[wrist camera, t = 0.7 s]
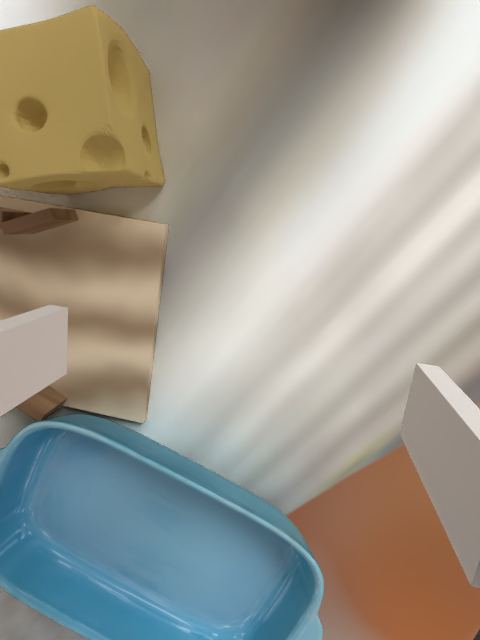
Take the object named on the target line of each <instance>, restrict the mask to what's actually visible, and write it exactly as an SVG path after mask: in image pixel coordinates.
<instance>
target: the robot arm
mask: <svg viewBox="0 0 480 640" xmlns="http://www.w3.org/2000/svg"><path fill="white" fill-rule="evenodd" d="M67 336H68V308H67V307H61V306H55V305H47V306H44V307H41V308H38V309H35V310H32V311H29V312H26V313H23V314H20V315H17V316H13V317H10V318H7V319H4V320H1V321H0V416H2V415H3V414H5V413H7V412H8V411H10V410H11V409H13V408H14V407H16V406H17V405H19V404H21V403H22V402H24V401H25V400H27V399H28V398H30V397H31V396H33V395H35V394H36V393H38V392H39V391H41V390H42V389H44V388H45V387H47V386H48V385H50V384H52V383H53V382H55V381H56V380H58V379H59V378H61V377H62V376H64V375H66V374H67ZM400 435H401V437H402V439H403V441H404V444H405V446H406V448H407V450H408V452H409V454H410V456H411V459H412V461H413V463H414V465H415V467H416V469H417V471H418V473H419V476H420V478H421V480H422V482H423V484H424V486H425V488H426V491H427V493H428V495H429V497H430V499H431V501H432V503H433V506H434V508H435V510H436V512H437V514H438V516H439V519H440V521H441V523H442V525H443V527H444V529H445V531H446V534H447V536H448V538H449V540H450V542H451V544H452V546H453V548H454V551H455V553H456V554H457V557H458V559H459V561H460V563H461V565H462V568H463V570H464V572H465V574H466V576H467V578H468V581H469V583H470V585H471V586H473V587H478V588H480V409H479V408H478V407H477V406H476V405H475V404H474V403H473V402H472V401H471V400H470V399H469V398H468V396H467V395H466V394H465V393H464V392H463V391H462V390H461V389H460V388H459V387H458V386H457V385H456V384H455V383H454V382H453V381H452V380H451V379H450V378H449V377H448V376H447V375H446V373H445V372H444V371H443V370H442V369H441V368H440V367H438V366H432V365H426V364H419V363H416V367H415V371H414V375H413V380H412V384H411V388H410V392H409V396H408V400H407V404H406V408H405V412H404V417H403V421H402V425H401V429H400ZM474 640H480V630H479V631H478V633H477V635H476V637H475V638H474Z"/></svg>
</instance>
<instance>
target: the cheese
mask: <svg viewBox="0 0 480 640" xmlns="http://www.w3.org/2000/svg"><path fill="white" fill-rule="evenodd" d="M164 184H165V181H164V173H163V168H162V164H161V159H160V154H159V149H158V142H157V134H156V126H155V118H154V110H153V101H152V92H151V83H150V75H149V70H148V69H147V67H146V65H145V63H144V61H143V59H142V57H141V56H140V54H139V52H138V51H137V49H136V48H135V46H134V45H133V43H132V42H131V40H130V39H129V37H128V36H127V34H126V33H125V32H124V31H123V30H122V28H121V27H120V26H119V25H118V24H117V23H116V22H114V21H113V20H112V19H111V18H110V17H109V16H108V15H106V14H105V13H104V12H102V11H101V10H100V9H98V8H97V7H95V6H88V7H84V8H81V9H78V10H75V11H73V12H70V13H67V14H64V15H61V16H59V17H56V18H53V19H49V20H46V21H42V22H37V23H33V24H28V25H23V26H18V27H14V28H9V29H4V30H0V186H1V187H6V188H11V189H18V190H30V191H35V192H42V193H49V194H63V195H69V194H77V193H84V192H91V191H98V190H104V189H106V188H109V187H140V186H163V185H164Z"/></svg>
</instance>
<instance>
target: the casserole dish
mask: <svg viewBox="0 0 480 640" xmlns="http://www.w3.org/2000/svg"><path fill="white" fill-rule="evenodd" d="M0 588H2V589H3V590H4V591H5V592H7V593H8V594H10V595H11V596H13V597H14V598H16V599H17V600H19V601H21V602H22V603H24V604H26V605H27V606H29V607H31V608H32V609H34V610H36V611H38V612H39V613H41V614H43V615H45V616H47V617H48V618H50V619H52V620H54V621H55V622H57V623H59V624H61V625H63V626H65V627H66V628H68V629H70V630H72V631H74V632H76V633H77V634H79V635H81V636H83V637H85V638H86V639H88V640H322V637H323V628H322V624H321V621H320V618H319V616H318V610H319V607H320V604H321V601H322V598H323V593H324V580H323V576H322V572H321V570H320V567H319V565H318V563H317V562H316V560H315V558H314V556H313V555H312V553H311V551H310V549H309V547H308V545H307V543H306V541H305V540H304V538H303V536H302V535H301V533H300V532H299V530H298V529H297V528H296V526H295V525H294V524H293V523H292V522H291V521H290V520H289V519H288V518H287V517H286V516H285V515H284V514H283V513H282V512H280V511H279V510H278V509H276V508H275V507H274V506H272V505H271V504H269V503H268V502H266V501H265V500H263V499H262V498H260V497H258V496H257V495H255V494H253V493H251V492H250V491H248V490H246V489H244V488H242V487H240V486H239V485H237V484H235V483H233V482H231V481H229V480H227V479H225V478H224V477H222V476H220V475H218V474H216V473H214V472H212V471H210V470H208V469H207V468H205V467H203V466H201V465H199V464H197V463H195V462H193V461H191V460H189V459H187V458H186V457H184V456H182V455H180V454H178V453H176V452H174V451H172V450H170V449H169V448H167V447H165V446H163V445H161V444H159V443H157V442H155V441H153V440H151V439H149V438H147V437H145V436H143V435H142V434H139V433H137V432H135V431H133V430H131V429H129V428H126V427H124V426H122V425H120V424H117V423H115V422H112V421H109V420H107V419H104V418H100V417H96V416H92V415H83V414H72V415H65V416H60V417H56V418H52V419H49V420H43V421H38V422H35V423H32V424H30V425H28V426H26V427H25V428H23V429H22V430H21V431H20V432H19V433H18V434H17V435H16V436H15V437H14V438H13V439H12V440H11V441H10V442H9V444H8V445H7V446H6V447H5V448H2V449H0Z"/></svg>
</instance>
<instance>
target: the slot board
mask: <svg viewBox="0 0 480 640" xmlns="http://www.w3.org/2000/svg"><path fill="white" fill-rule="evenodd" d="M168 229H169V225H168V224H162V223H156V222H150V221H144V220H138V219H133V218H127V217H121V216H115V215H109V214H103V213H98V212H92V211H86V210H80V209H74V208H68V207H62V206H57V205H51V204H45V203H39V202H33V201H27V200H22V199H16V198H10V197H4V196H0V321H1V320H4V319H7V318H10V317H13V316H17V315H20V314H23V313H26V312H29V311H32V310H35V309H38V308H41V307H44V306H47V305H55V306H61V307H67V308H68V336H67V374H66V375H64V376H62V377H61V378H59V379H58V380H56V381H55V382H53V383H52V384H50V385H48V386H47V387H45V388H44V389H42V390H41V391H39V392H38V393H36V394H35V395H33V396H31V397H30V398H28V399H27V400H25V401H24V402H22V403H21V404H19V405H17V406H16V407H17V408H18V409H20V410H21V411H23V412H24V413H26V414H27V415H29V416H30V417H32V418H33V419H35V420H36V421H43V420H44V419H45V418H47V417H48V416H49V415H51V414H52V413H53V412H55V411H56V410H57V409H59V408H60V407H61V406H67V407H72V408H76V409H81V410H85V411H90V412H94V413H99V414H103V415H108V416H112V417H117V418H121V419H126V420H130V421H135V422H139V423H144V421H145V420H146V419H147V410H148V401H149V393H150V384H151V376H152V367H153V358H154V350H155V341H156V333H157V324H158V315H159V307H160V298H161V290H162V281H163V272H164V264H165V255H166V247H167V238H168Z"/></svg>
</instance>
